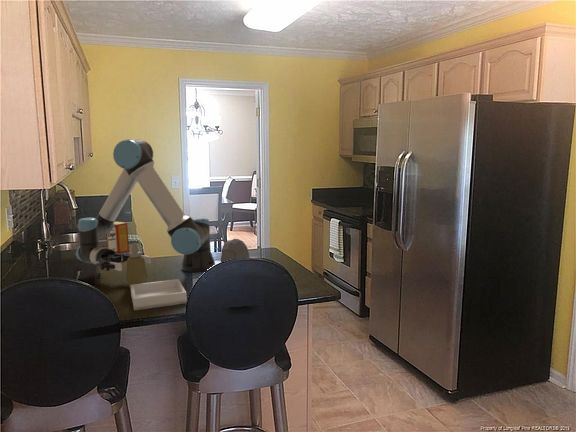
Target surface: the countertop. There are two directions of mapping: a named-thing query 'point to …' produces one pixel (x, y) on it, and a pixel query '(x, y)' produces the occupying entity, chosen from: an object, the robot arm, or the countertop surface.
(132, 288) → the box
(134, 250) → the squeeze bottle
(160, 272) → the countertop surface
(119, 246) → the baking soda box
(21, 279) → the countertop surface
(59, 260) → the countertop surface
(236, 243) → the small grey backpack
